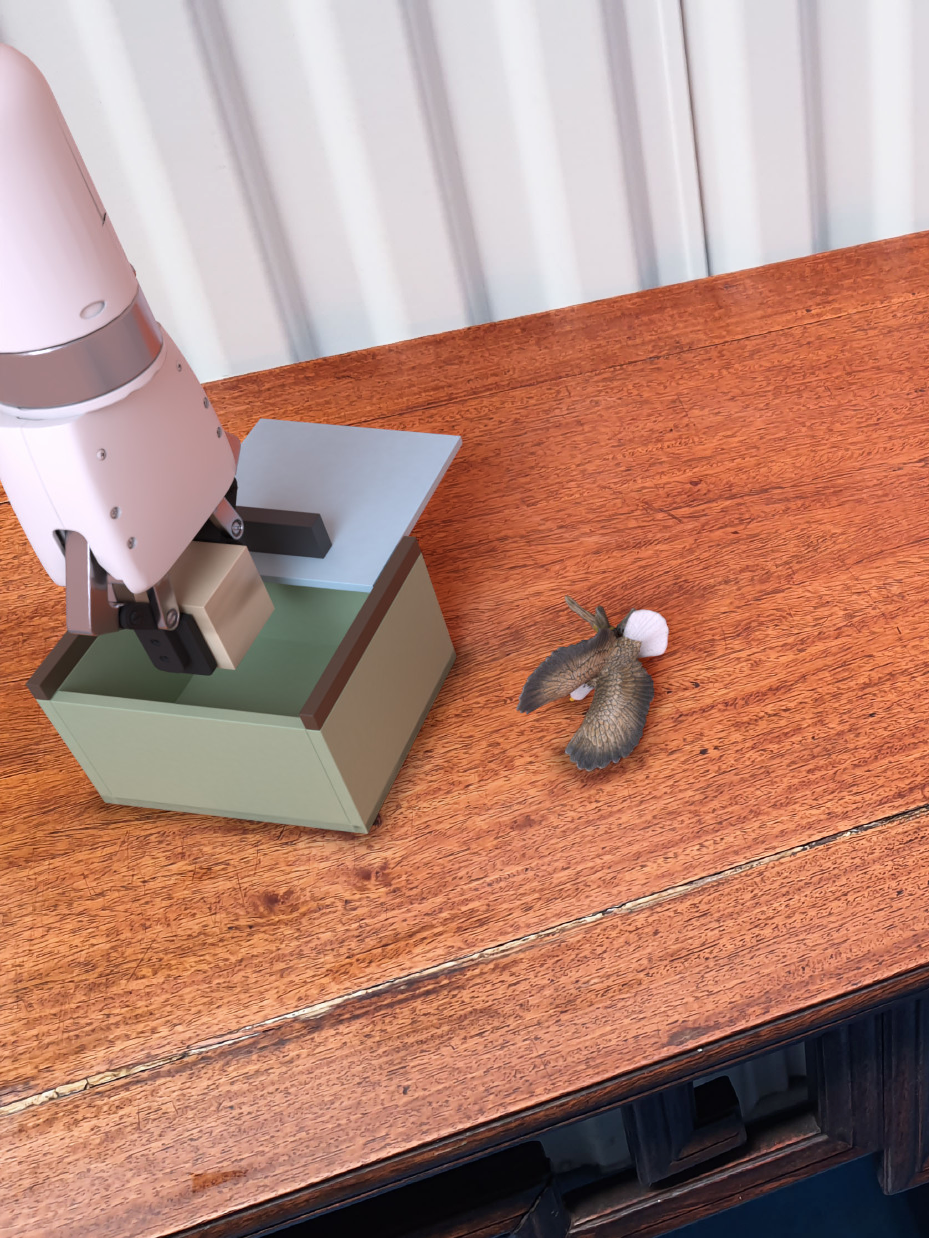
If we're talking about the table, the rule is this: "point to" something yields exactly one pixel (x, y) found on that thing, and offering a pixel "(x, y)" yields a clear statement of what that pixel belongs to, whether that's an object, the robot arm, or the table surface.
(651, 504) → the table surface
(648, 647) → the eagle figurine
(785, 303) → the table surface
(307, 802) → the case
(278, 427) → the light blue lid
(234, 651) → the block
